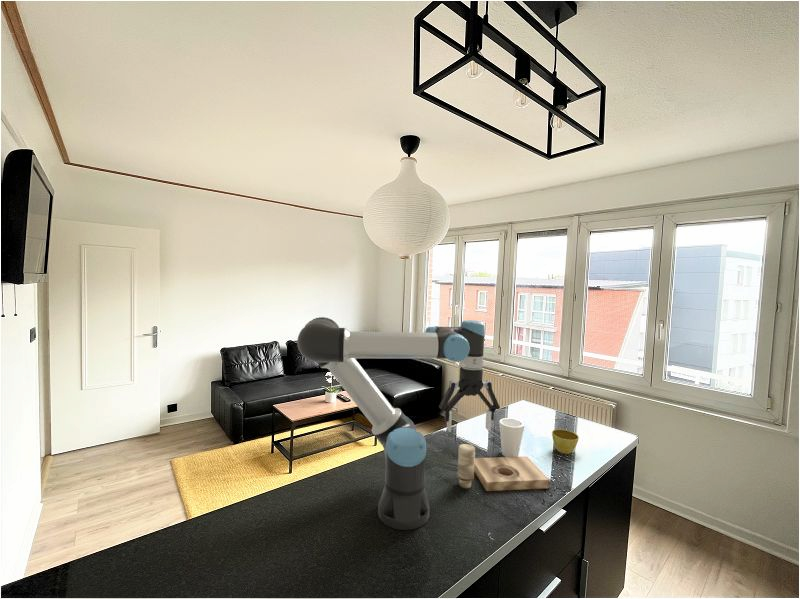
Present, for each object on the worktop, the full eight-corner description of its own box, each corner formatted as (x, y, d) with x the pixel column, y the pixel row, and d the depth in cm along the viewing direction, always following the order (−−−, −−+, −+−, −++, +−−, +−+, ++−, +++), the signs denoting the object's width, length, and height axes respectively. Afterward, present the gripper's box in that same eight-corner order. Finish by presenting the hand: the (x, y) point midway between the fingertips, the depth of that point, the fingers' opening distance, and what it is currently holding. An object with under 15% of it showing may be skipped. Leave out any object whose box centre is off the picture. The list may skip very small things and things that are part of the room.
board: (486, 491, 122) (486, 482, 122) (470, 466, 138) (471, 458, 137) (548, 488, 125) (549, 479, 125) (526, 464, 141) (526, 456, 140)
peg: (459, 490, 122) (461, 451, 121) (455, 480, 127) (456, 444, 126) (475, 489, 123) (477, 451, 122) (470, 480, 128) (472, 443, 127)
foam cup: (523, 461, 143) (525, 428, 142) (498, 458, 144) (500, 425, 144) (520, 450, 152) (522, 419, 151) (497, 447, 154) (499, 416, 153)
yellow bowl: (580, 458, 147) (582, 441, 146) (554, 455, 148) (555, 438, 148) (573, 447, 157) (574, 430, 156) (548, 444, 158) (549, 428, 158)
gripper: (437, 370, 117) (434, 435, 118) (511, 370, 120) (508, 433, 122) (431, 364, 124) (429, 426, 126) (502, 364, 128) (499, 424, 129)
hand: (468, 429), depth 124 cm, fingers open, 13 cm apart
